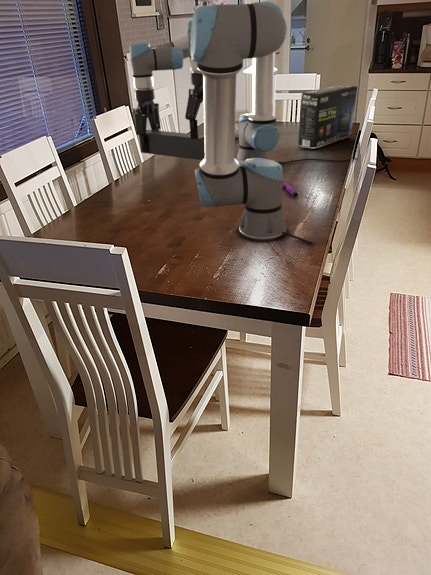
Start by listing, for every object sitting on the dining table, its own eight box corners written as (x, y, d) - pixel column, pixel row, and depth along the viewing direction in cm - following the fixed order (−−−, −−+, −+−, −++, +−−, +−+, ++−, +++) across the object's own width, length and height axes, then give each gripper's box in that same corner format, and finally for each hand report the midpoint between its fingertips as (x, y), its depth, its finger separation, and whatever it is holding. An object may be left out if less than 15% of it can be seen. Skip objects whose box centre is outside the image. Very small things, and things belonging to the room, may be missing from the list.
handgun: (264, 183, 192) (264, 178, 191) (281, 181, 193) (281, 176, 192) (279, 199, 175) (279, 194, 174) (298, 197, 176) (298, 192, 175)
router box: (314, 151, 231) (318, 94, 217) (296, 148, 237) (299, 92, 224) (352, 138, 251) (358, 85, 238) (335, 135, 258) (340, 83, 245)
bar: (208, 156, 177) (207, 135, 173) (201, 160, 173) (199, 138, 169) (148, 149, 191) (146, 129, 186) (140, 152, 187) (138, 132, 183)
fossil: (240, 133, 254) (221, 116, 257) (229, 149, 261) (212, 132, 264) (255, 132, 268) (238, 116, 271) (245, 147, 274) (228, 131, 277)
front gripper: (209, 68, 170) (212, 127, 180) (171, 75, 151) (177, 141, 162) (227, 68, 167) (228, 129, 177) (191, 75, 148) (195, 142, 158)
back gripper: (151, 85, 183) (157, 144, 195) (120, 92, 170) (129, 154, 182) (166, 85, 180) (171, 145, 192) (136, 92, 166) (144, 156, 178)
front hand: (204, 135), depth 169 cm, fingers open, 13 cm apart
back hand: (150, 150), depth 187 cm, fingers closed on bar, 5 cm apart
